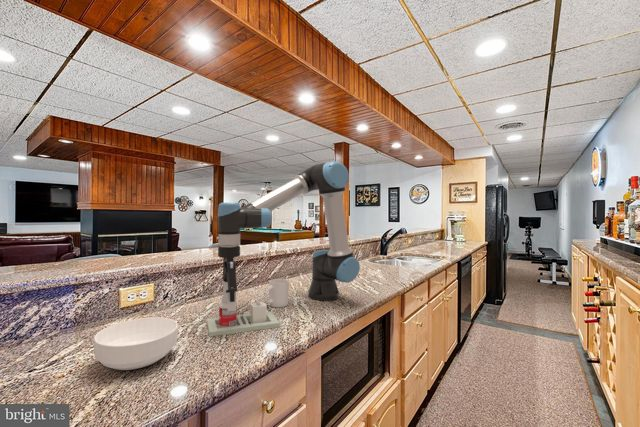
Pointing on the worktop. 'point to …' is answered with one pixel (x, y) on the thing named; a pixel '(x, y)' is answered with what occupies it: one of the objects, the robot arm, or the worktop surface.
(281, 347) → the worktop surface
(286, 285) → the mug
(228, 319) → the pill bottle
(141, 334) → the bowl
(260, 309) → the block
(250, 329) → the faceplate
